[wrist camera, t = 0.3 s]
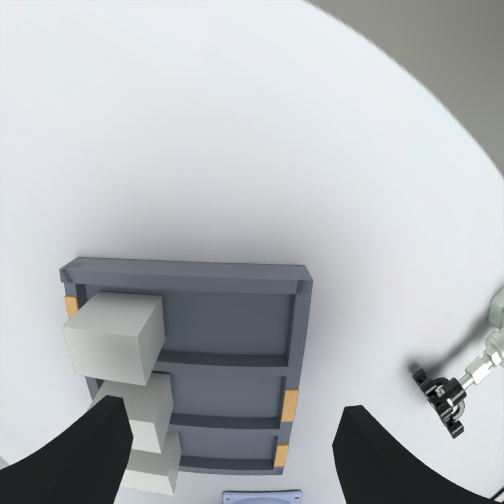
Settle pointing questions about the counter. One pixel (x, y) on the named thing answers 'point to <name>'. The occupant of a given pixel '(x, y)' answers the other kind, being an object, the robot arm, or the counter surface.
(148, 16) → the counter surface
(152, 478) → the pale grey block
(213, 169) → the counter surface
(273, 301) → the grey divided tray
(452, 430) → the valve
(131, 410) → the off-white block
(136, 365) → the off-white plastic block
